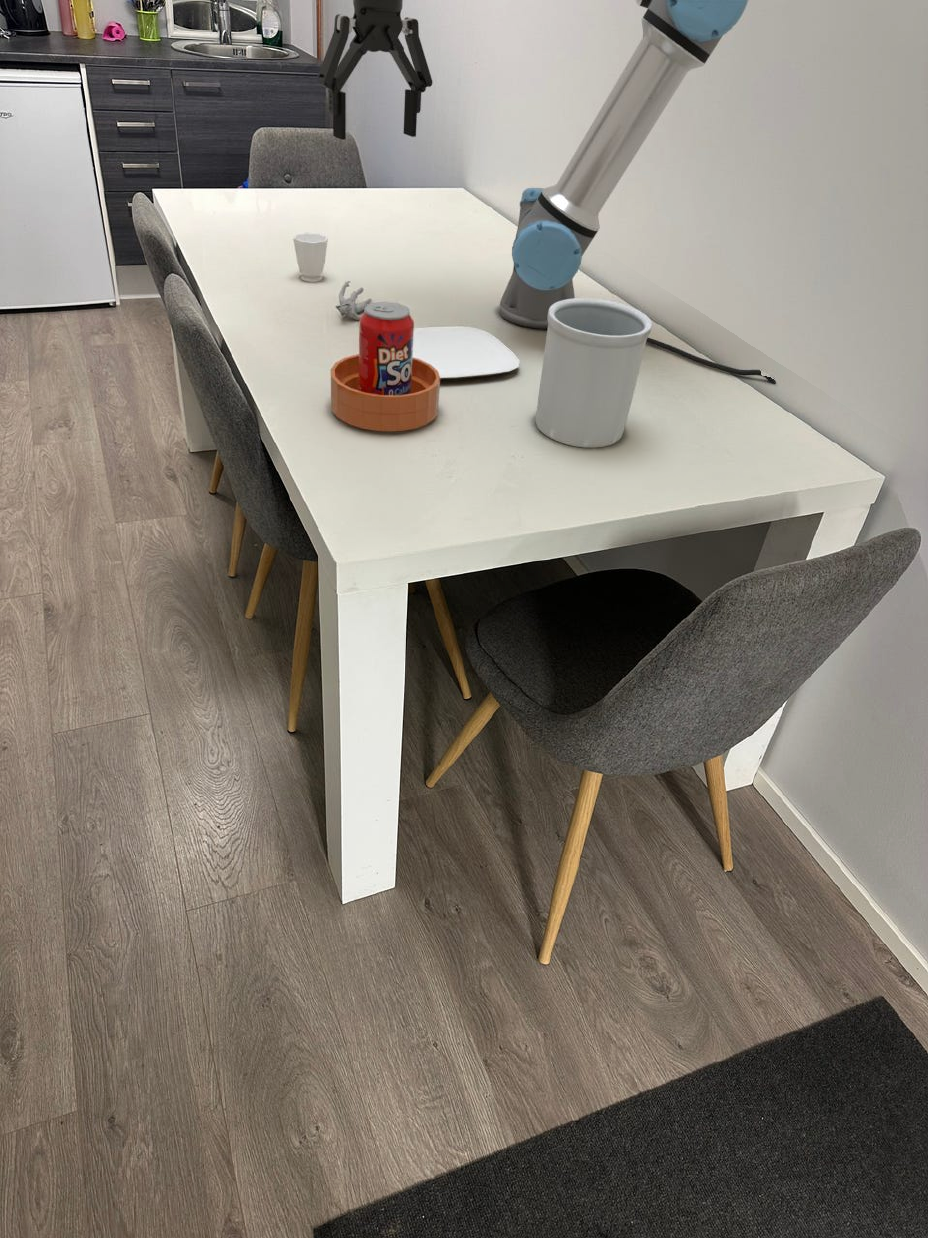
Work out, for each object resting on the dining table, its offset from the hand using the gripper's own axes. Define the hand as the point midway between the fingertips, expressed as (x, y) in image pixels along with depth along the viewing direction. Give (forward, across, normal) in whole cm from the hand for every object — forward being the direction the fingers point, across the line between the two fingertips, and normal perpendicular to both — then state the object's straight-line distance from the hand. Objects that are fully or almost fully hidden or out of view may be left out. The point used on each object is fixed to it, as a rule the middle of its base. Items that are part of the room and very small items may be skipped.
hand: (375, 136), depth 144 cm
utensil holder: (+31, -6, +52) cm, 61 cm away
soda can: (+30, +18, +34) cm, 49 cm away
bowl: (+31, +18, +34) cm, 49 cm away
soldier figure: (+31, +1, -4) cm, 31 cm away
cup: (+31, -1, -27) cm, 41 cm away
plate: (+31, -3, +21) cm, 38 cm away
